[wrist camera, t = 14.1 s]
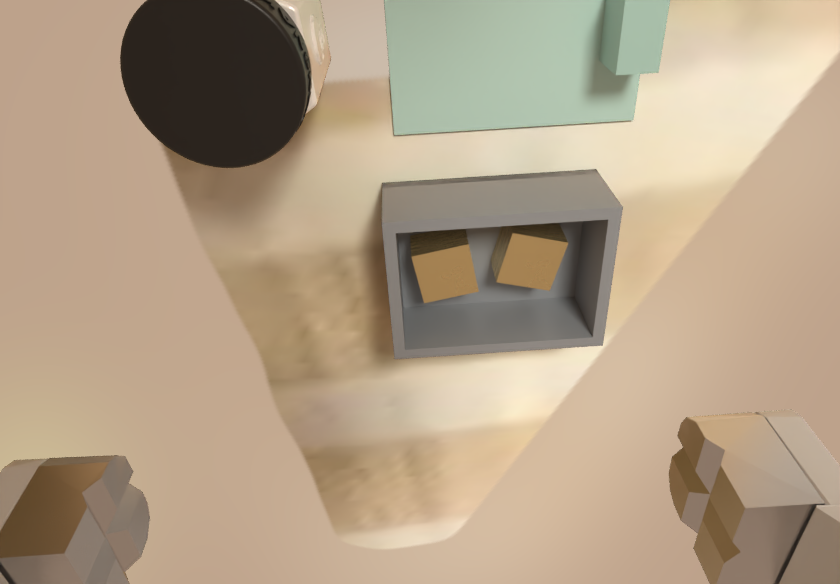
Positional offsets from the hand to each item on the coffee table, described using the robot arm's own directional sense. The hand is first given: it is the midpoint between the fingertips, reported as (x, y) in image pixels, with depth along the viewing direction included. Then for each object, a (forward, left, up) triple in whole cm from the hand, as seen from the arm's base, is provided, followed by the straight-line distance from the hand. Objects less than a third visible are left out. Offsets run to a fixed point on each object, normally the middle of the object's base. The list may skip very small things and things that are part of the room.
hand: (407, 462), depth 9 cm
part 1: (+16, +2, -33) cm, 37 cm away
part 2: (+15, +8, -33) cm, 38 cm away
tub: (+16, +6, -34) cm, 38 cm away
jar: (0, -8, -34) cm, 35 cm away
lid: (+1, +8, -35) cm, 36 cm away
